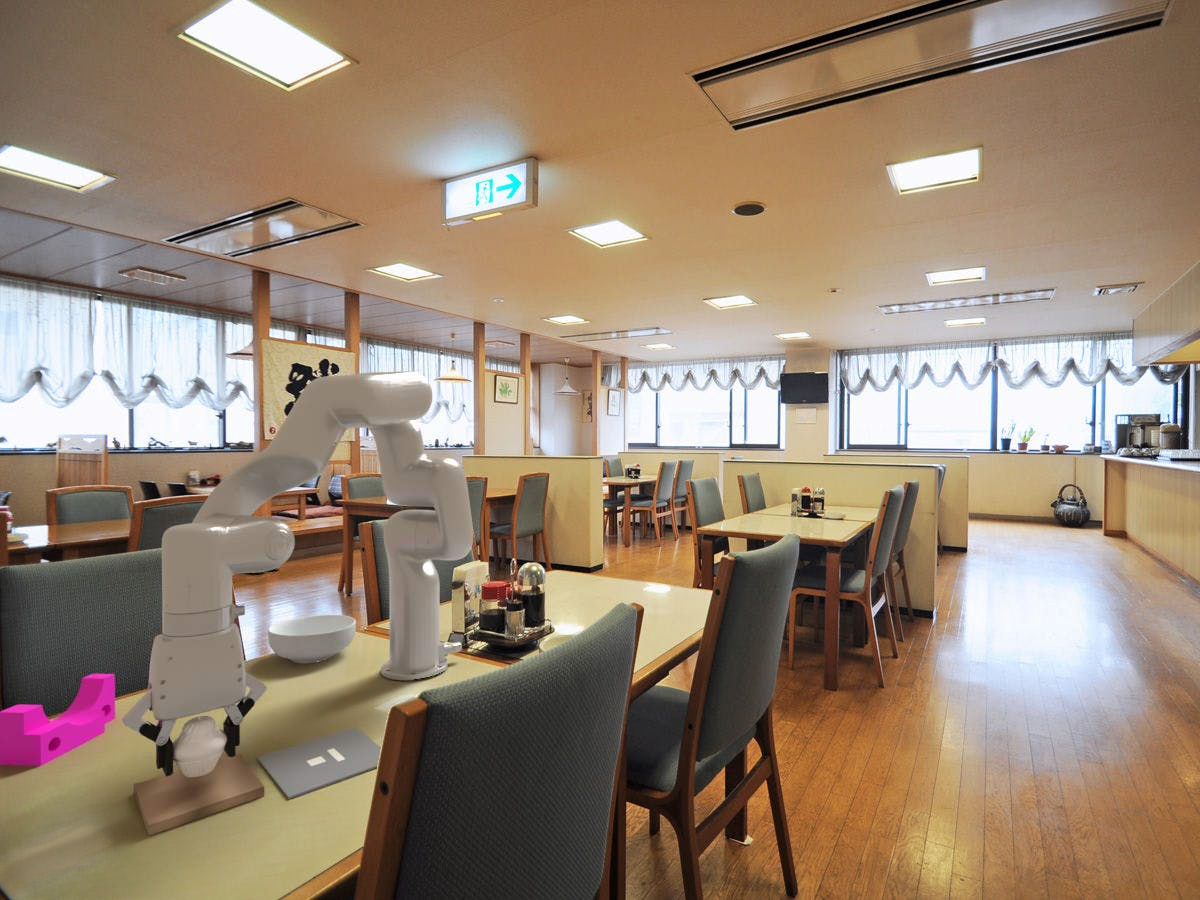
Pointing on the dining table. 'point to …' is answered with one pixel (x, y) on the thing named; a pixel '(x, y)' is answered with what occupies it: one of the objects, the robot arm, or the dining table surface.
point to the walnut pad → (196, 794)
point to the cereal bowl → (311, 637)
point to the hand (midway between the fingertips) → (199, 761)
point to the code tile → (321, 761)
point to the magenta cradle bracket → (56, 724)
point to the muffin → (199, 746)
